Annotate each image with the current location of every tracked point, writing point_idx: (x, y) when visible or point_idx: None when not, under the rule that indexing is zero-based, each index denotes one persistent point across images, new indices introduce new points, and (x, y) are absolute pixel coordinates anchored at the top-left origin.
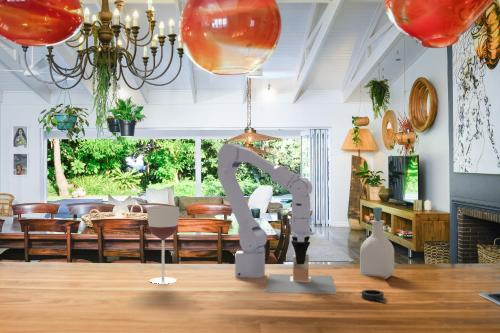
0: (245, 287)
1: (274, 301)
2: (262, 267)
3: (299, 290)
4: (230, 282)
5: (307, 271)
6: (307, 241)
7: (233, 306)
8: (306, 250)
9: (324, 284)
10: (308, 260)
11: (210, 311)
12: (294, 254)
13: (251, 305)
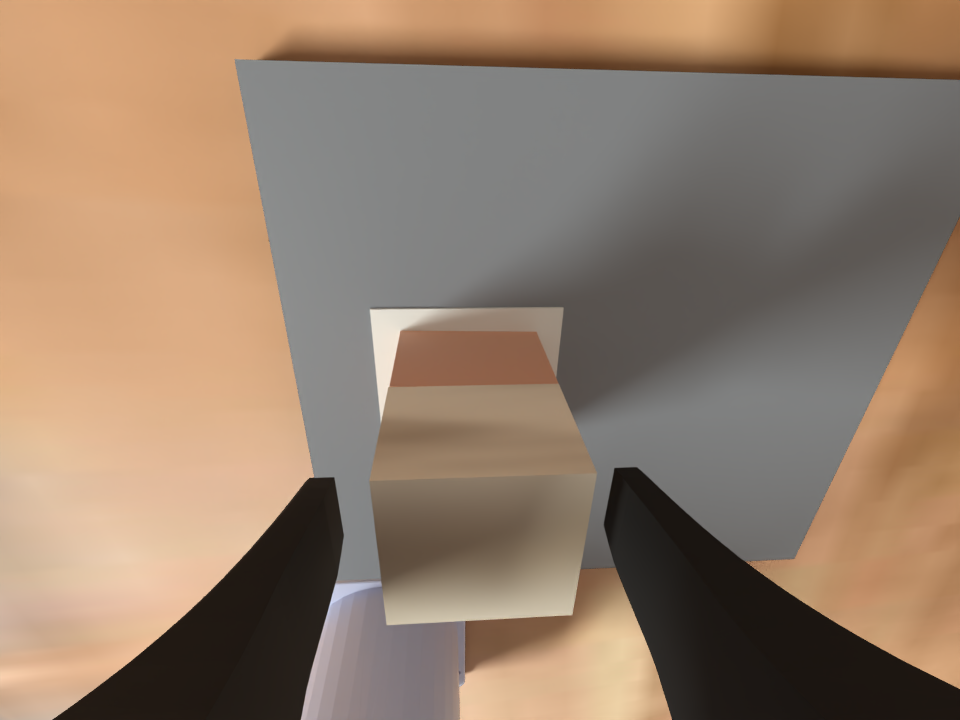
0: (591, 625)
1: (890, 490)
2: (421, 667)
3: (812, 389)
4: (492, 684)
5: (552, 380)
6: (217, 716)
7: (907, 617)
8: (804, 607)
9: (657, 185)
10: (585, 446)
11: (941, 663)
12: (407, 617)
13: (919, 567)
